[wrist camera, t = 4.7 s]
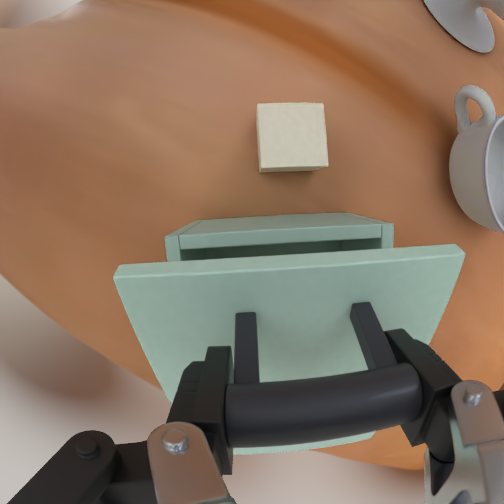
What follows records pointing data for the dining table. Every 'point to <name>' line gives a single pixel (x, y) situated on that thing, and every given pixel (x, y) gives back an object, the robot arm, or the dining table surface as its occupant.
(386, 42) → the dining table surface
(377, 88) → the dining table surface
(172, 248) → the sage green storage bin
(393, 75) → the dining table surface
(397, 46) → the dining table surface
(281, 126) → the block
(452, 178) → the teacup
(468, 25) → the chalice
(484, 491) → the robot arm
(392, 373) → the lid
